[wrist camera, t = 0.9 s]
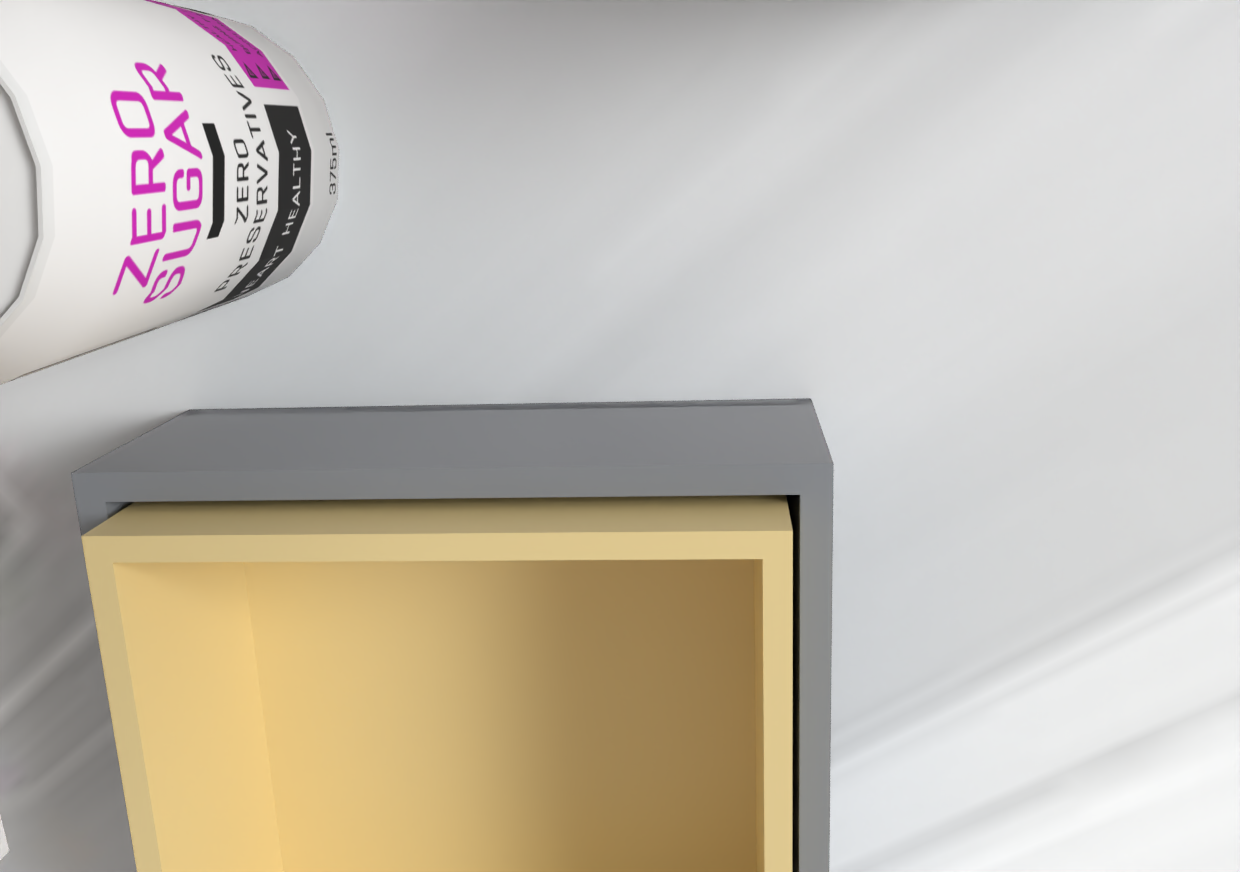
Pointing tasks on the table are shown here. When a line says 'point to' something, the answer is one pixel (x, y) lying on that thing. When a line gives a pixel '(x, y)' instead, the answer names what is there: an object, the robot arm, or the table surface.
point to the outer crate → (527, 494)
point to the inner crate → (451, 683)
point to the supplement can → (147, 171)
